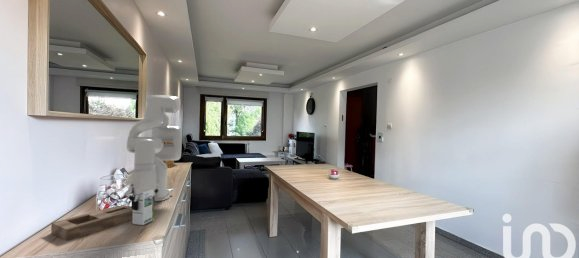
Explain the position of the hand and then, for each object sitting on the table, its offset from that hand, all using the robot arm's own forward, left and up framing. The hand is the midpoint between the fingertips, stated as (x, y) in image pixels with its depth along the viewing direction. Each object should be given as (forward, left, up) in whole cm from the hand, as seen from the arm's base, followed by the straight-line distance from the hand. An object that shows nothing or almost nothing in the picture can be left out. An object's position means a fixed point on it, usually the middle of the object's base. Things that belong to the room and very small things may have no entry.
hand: (143, 206), depth 106 cm
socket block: (+10, -14, -7) cm, 19 cm away
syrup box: (0, 0, -7) cm, 7 cm away
